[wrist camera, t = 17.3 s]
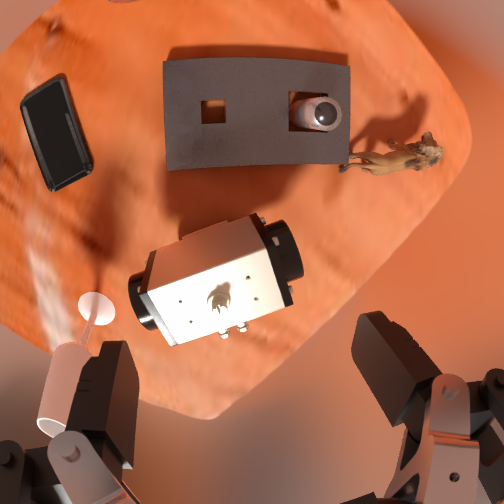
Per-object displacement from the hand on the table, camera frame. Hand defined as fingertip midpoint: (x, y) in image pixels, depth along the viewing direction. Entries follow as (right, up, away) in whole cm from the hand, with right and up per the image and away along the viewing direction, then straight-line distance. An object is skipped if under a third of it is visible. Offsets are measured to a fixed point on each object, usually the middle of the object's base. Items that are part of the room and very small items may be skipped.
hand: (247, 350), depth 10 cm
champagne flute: (-25, -6, +35) cm, 44 cm away
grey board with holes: (+1, +22, +27) cm, 35 cm away
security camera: (-6, +5, +34) cm, 35 cm away
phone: (-27, +20, +24) cm, 41 cm away
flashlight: (+7, +22, +28) cm, 36 cm away
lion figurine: (+20, +19, +33) cm, 42 cm away
